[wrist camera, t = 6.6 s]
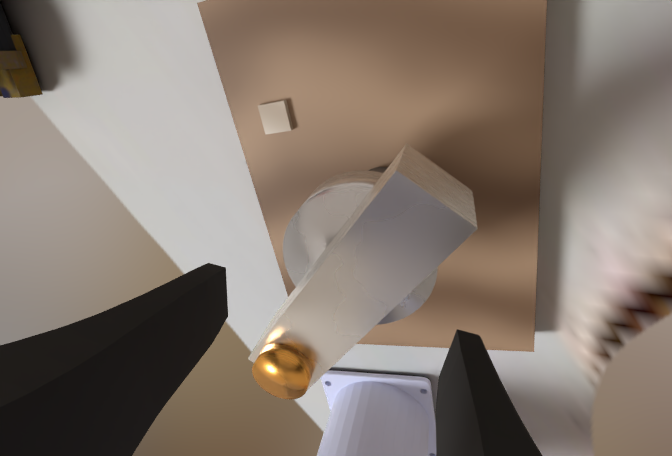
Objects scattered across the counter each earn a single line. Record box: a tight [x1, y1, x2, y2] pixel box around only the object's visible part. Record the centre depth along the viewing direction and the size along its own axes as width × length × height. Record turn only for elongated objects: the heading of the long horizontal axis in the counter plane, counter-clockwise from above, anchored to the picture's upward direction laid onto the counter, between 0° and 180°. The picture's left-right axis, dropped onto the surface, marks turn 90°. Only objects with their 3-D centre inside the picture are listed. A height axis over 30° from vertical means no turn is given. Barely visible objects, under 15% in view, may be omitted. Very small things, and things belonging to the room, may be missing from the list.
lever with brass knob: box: [248, 143, 478, 399], centre depth 13 cm, size 9×6×5 cm, turn 149°
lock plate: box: [197, 0, 547, 352], centre depth 17 cm, size 20×14×6 cm
